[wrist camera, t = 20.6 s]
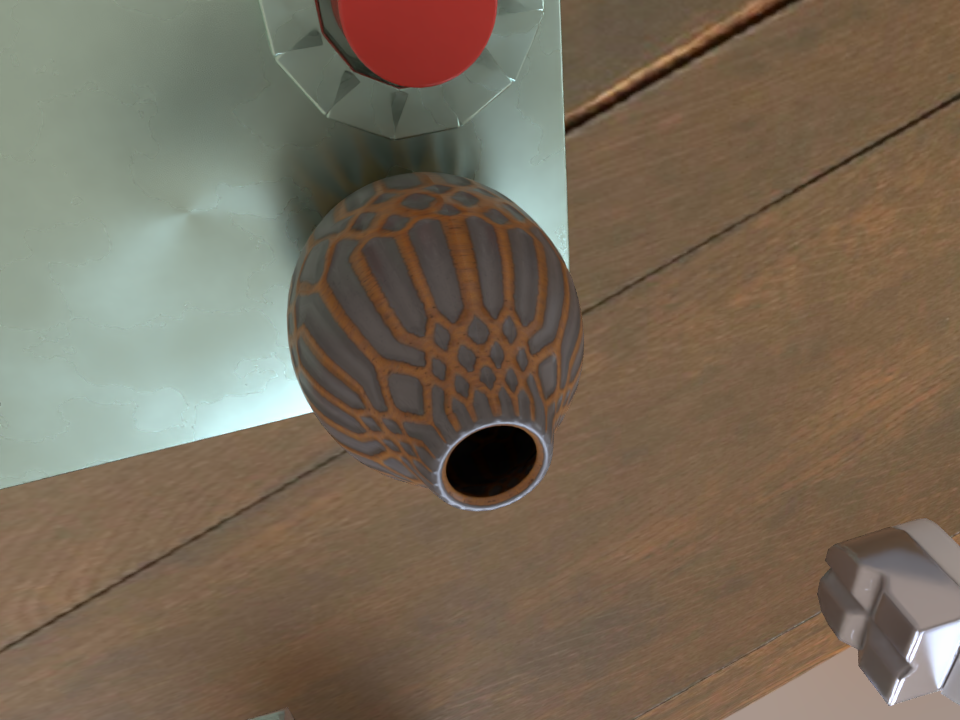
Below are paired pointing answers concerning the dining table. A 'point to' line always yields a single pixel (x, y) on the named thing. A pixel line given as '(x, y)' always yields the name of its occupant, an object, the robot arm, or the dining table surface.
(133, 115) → the green metallic slab
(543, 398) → the vase
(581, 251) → the dining table surface
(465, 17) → the button
